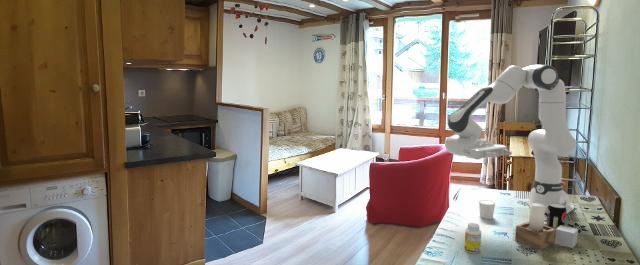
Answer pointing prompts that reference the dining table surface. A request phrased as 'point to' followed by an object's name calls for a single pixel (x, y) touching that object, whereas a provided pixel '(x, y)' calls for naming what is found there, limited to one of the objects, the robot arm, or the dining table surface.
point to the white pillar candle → (536, 217)
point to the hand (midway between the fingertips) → (503, 154)
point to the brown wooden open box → (535, 236)
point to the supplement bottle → (473, 238)
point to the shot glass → (486, 209)
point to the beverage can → (556, 215)
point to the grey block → (566, 236)
